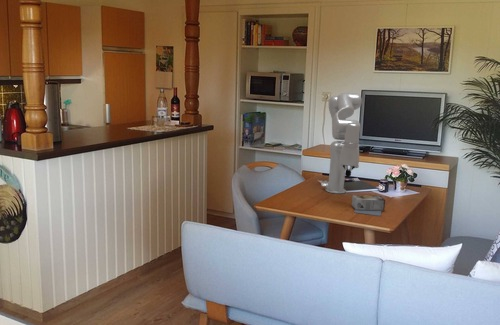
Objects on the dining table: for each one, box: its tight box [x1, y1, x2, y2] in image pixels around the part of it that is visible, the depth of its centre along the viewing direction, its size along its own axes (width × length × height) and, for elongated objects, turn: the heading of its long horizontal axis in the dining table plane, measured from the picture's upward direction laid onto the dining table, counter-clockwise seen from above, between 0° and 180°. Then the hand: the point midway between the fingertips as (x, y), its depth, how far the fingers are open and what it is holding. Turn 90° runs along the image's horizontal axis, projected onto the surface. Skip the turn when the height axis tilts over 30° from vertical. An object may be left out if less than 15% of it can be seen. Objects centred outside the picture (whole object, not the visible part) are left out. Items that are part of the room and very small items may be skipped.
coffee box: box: [351, 194, 386, 212], centre depth 288 cm, size 9×6×16 cm
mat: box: [353, 208, 383, 217], centre depth 284 cm, size 14×14×1 cm
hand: (347, 176), depth 291 cm, fingers closed
